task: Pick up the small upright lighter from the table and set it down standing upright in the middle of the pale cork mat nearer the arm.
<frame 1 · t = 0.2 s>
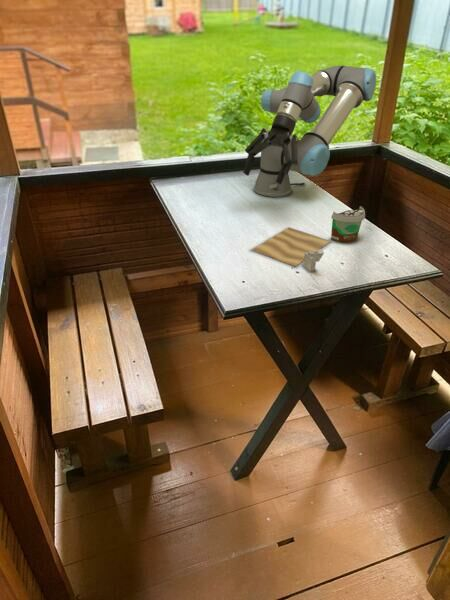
hand: (261, 178, 151), 16 cm above the table, tool tilted 35°, fingers open, 13 cm apart
food container: (347, 240, 148), on the table
lighter: (311, 270, 131), on the table
cork mat: (291, 246, 144), on the table
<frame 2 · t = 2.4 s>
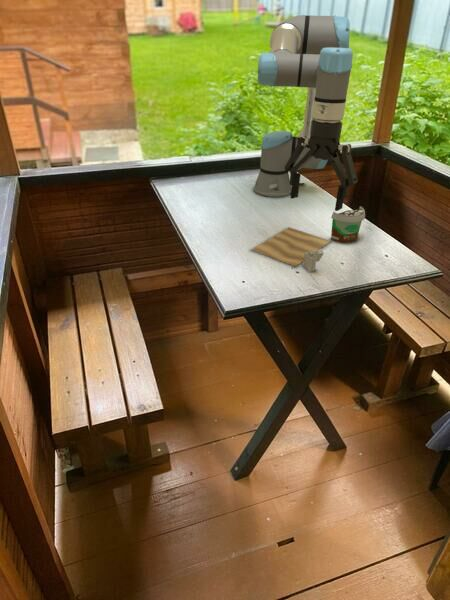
hand: (315, 203, 120), 21 cm above the table, tool pointing down, fingers open, 13 cm apart
nothing on the table moved.
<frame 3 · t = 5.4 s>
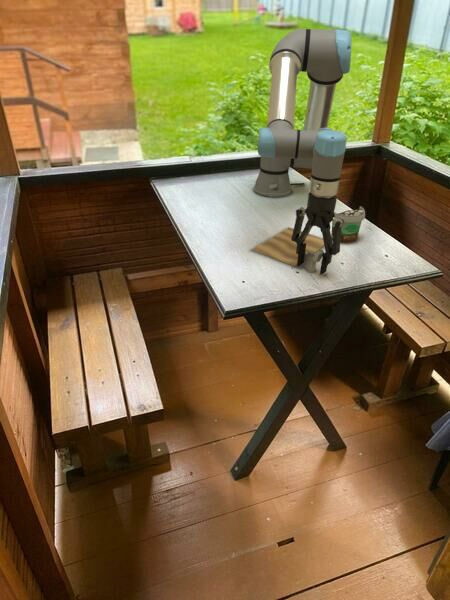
hand: (311, 268, 130), 1 cm above the table, tool pointing down, fingers closed on lighter, 7 cm apart
lighter: (311, 270, 131), on the table, touching gripper
everything else where it was.
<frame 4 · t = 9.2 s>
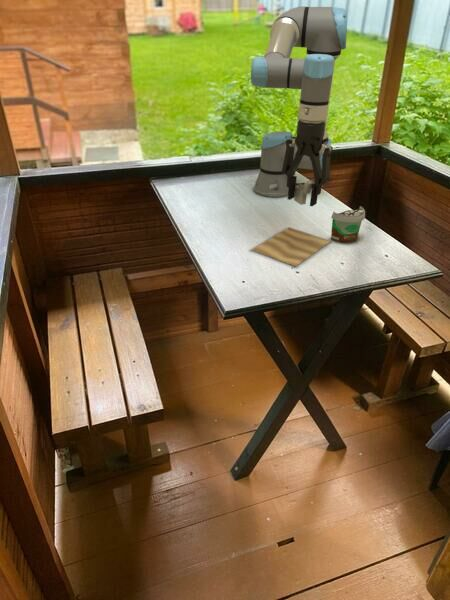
hand: (301, 201, 132), 17 cm above the table, tool pointing down, fingers closed on lighter, 7 cm apart
lighter: (302, 204, 133), point 15 cm above the table, touching gripper
everything else where it was.
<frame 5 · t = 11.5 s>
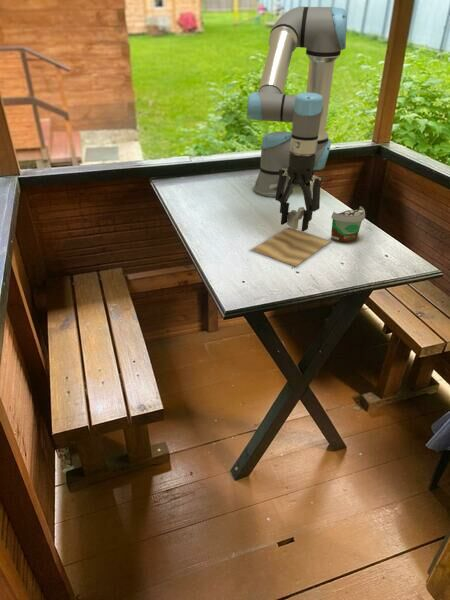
hand: (294, 226, 140), 7 cm above the table, tool pointing down, fingers closed on lighter, 7 cm apart
lighter: (294, 229, 141), point 6 cm above the table, touching gripper
everything else where it was.
when the fingers open (1 cm above the table, at t = 13.2 s): lighter stays where it is, resting on cork mat.
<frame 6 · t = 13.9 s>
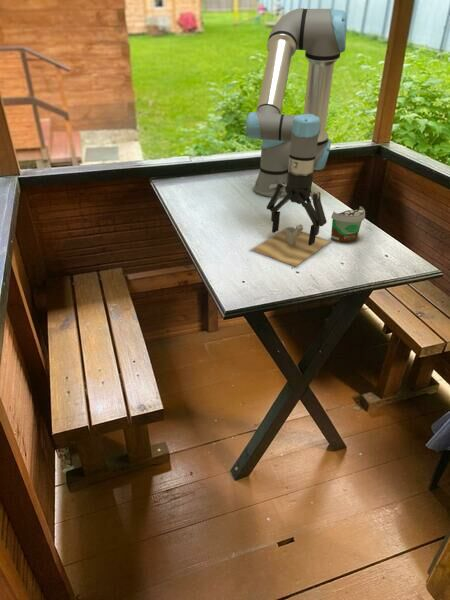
hand: (292, 237, 142), 3 cm above the table, tool pointing down, fingers open, 13 cm apart
lighter: (292, 245, 144), resting on cork mat
everything else where it was.
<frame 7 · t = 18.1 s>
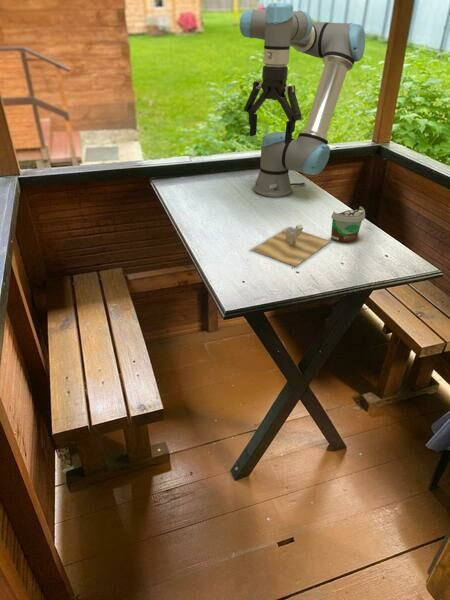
hand: (269, 139, 143), 29 cm above the table, tool pointing down, fingers open, 13 cm apart
nothing on the table moved.
at the end: lighter inside the target area on the cork mat (0.4 cm from its centre), point 0.1 cm above the cork mat's base; lighter tilted 0°; the gripper is holding nothing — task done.
